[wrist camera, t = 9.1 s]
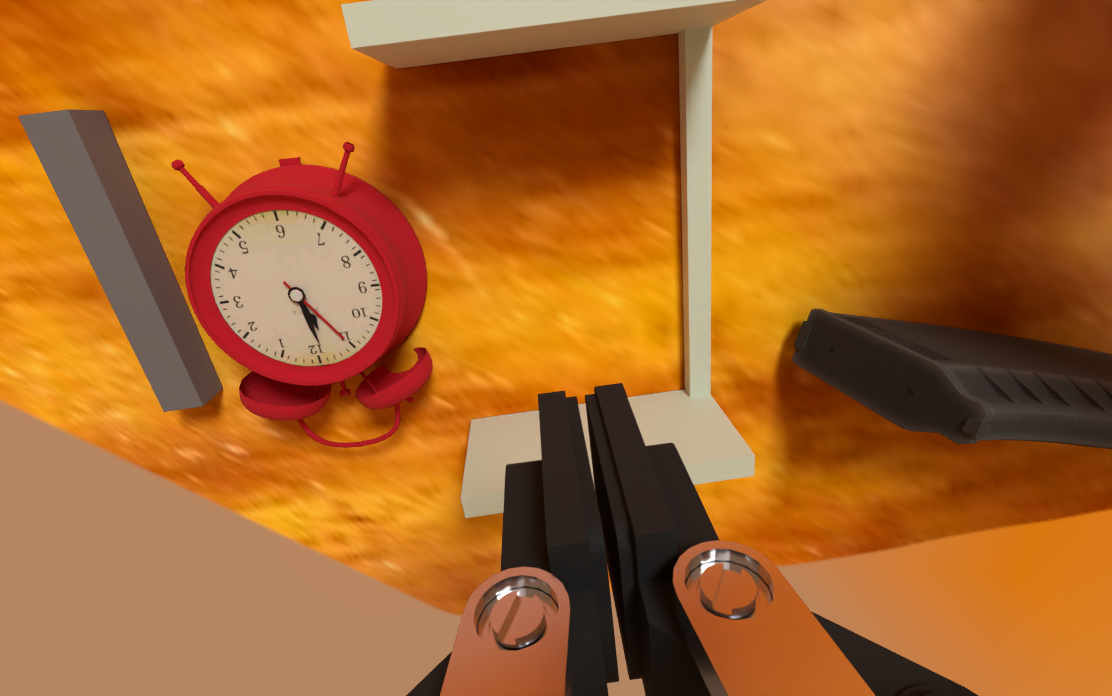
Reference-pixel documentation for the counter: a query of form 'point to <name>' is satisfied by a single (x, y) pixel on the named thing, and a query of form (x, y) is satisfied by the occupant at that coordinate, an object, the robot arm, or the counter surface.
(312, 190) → the alarm clock
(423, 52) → the shelf bay
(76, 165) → the rail
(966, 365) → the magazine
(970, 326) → the counter surface
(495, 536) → the counter surface
